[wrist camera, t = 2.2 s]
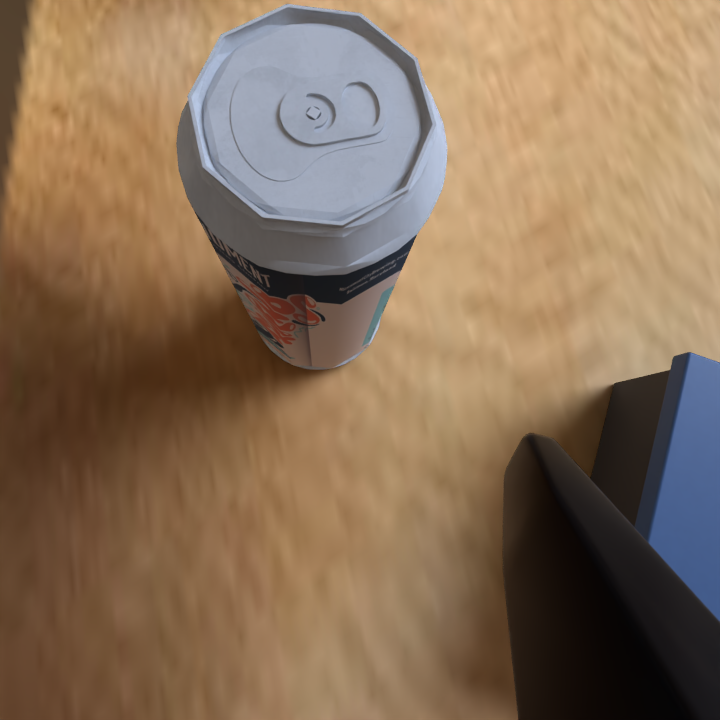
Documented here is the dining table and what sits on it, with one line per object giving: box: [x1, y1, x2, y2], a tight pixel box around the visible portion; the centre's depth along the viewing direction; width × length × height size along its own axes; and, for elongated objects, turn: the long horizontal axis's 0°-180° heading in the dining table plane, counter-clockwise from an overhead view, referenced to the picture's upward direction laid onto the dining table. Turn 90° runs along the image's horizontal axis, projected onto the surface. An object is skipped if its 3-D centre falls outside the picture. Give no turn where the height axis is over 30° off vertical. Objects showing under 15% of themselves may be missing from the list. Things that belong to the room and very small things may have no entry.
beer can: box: [177, 4, 447, 370], centre depth 14 cm, size 5×5×12 cm
